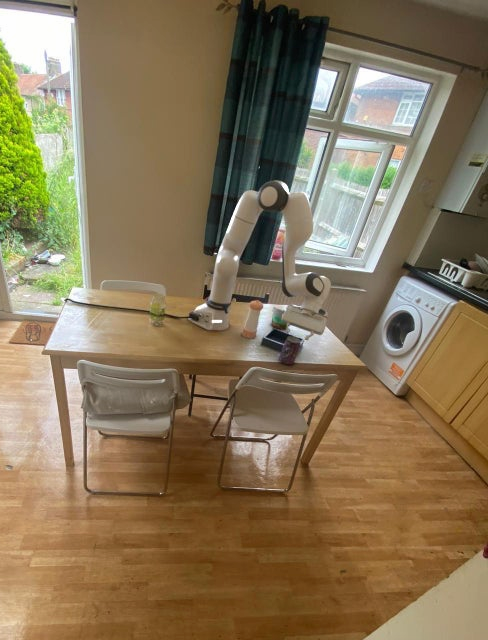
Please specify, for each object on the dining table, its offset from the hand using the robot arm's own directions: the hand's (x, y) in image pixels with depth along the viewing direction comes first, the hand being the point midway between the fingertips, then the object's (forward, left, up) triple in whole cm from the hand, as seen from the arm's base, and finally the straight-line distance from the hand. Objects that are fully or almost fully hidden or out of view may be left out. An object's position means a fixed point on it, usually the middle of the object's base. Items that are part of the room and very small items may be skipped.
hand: (296, 336), depth 154 cm
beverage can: (0, -4, -12) cm, 13 cm away
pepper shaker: (-25, +8, -12) cm, 29 cm away
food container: (-16, +29, -12) cm, 35 cm away
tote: (-7, +10, -12) cm, 17 cm away
